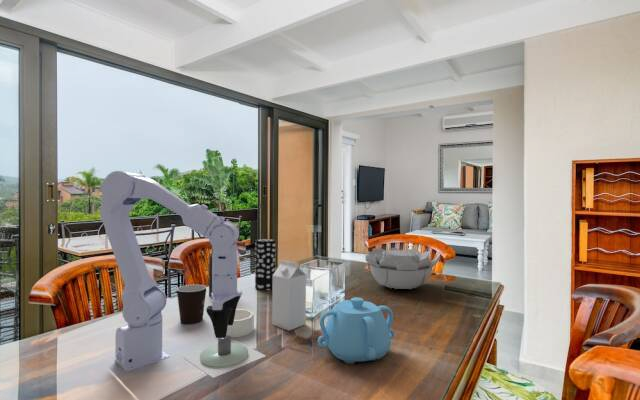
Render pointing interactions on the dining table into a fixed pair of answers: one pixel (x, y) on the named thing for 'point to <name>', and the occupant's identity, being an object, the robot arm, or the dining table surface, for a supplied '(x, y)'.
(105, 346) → the dining table surface
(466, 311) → the dining table surface
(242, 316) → the bowl
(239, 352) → the lid
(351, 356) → the decorative pot
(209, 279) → the bottle
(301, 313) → the milk carton
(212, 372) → the mat
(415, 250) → the decorative bowl
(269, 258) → the spotted tube
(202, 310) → the coffee mug
